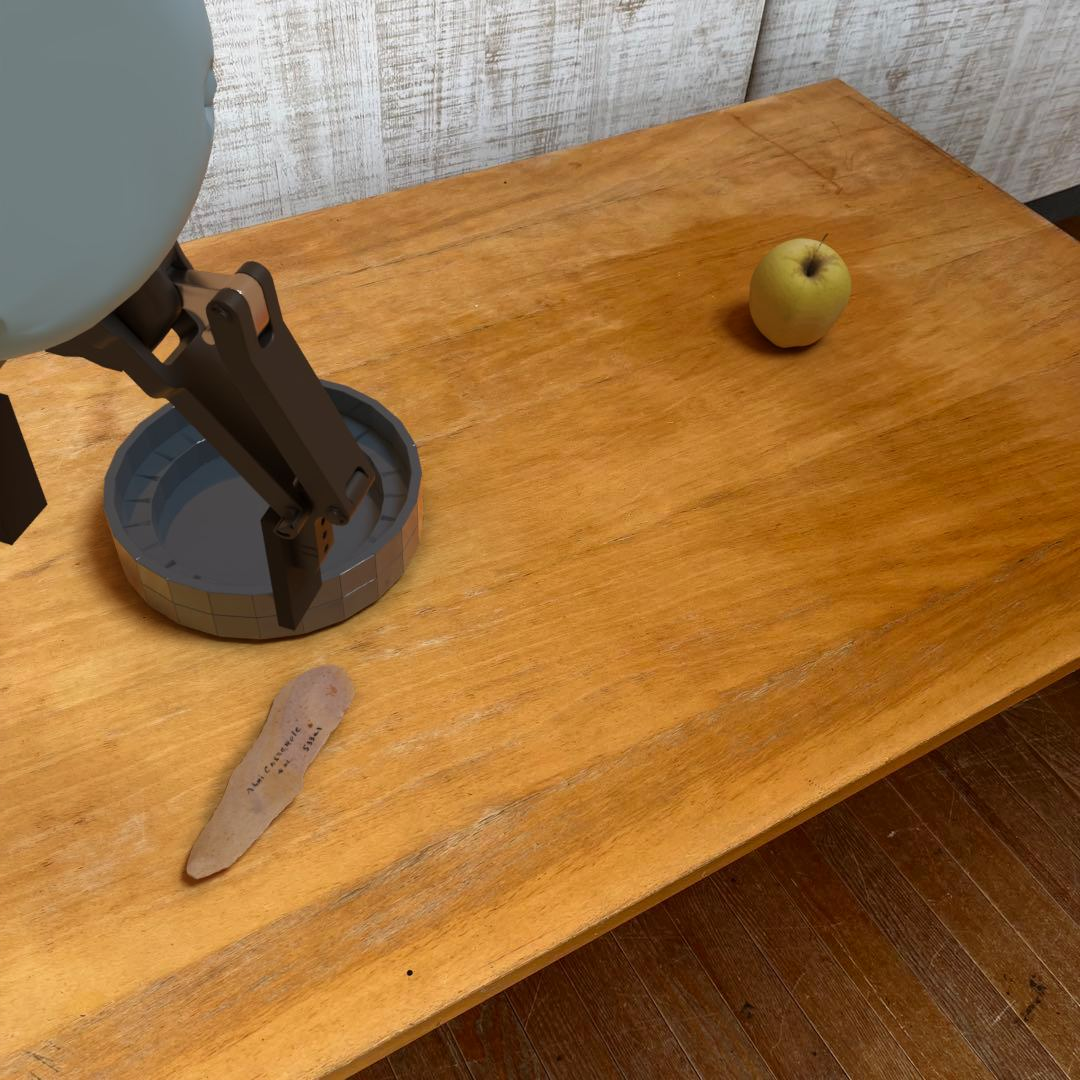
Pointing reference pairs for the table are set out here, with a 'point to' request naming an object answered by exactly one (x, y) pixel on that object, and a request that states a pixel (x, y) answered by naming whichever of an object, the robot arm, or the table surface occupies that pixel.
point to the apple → (798, 292)
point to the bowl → (253, 525)
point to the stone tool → (273, 766)
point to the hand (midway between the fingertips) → (158, 563)
